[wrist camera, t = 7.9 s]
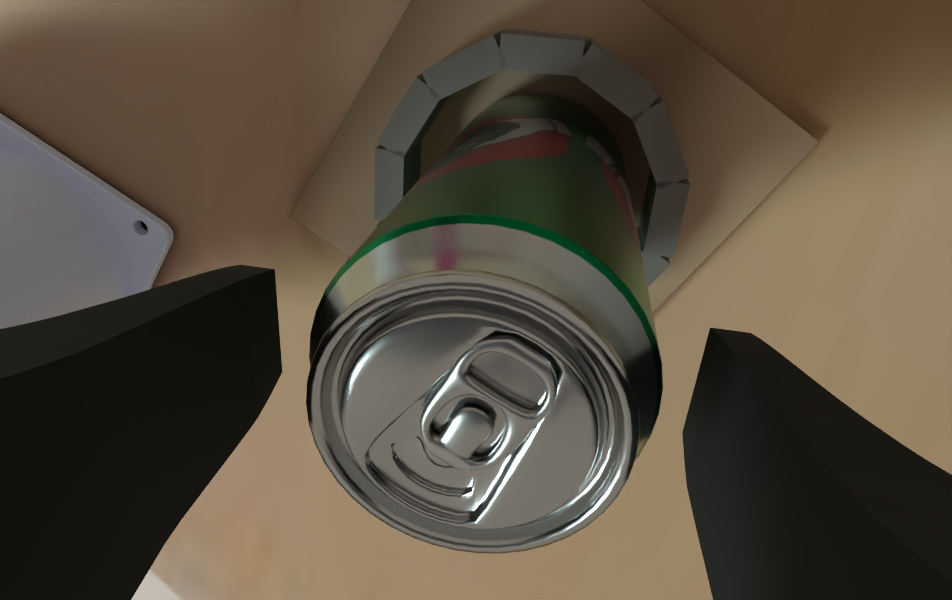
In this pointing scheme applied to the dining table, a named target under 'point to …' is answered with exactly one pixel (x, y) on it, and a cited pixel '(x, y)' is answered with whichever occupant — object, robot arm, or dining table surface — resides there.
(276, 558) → the dining table surface
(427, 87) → the can socket
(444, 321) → the soda can
